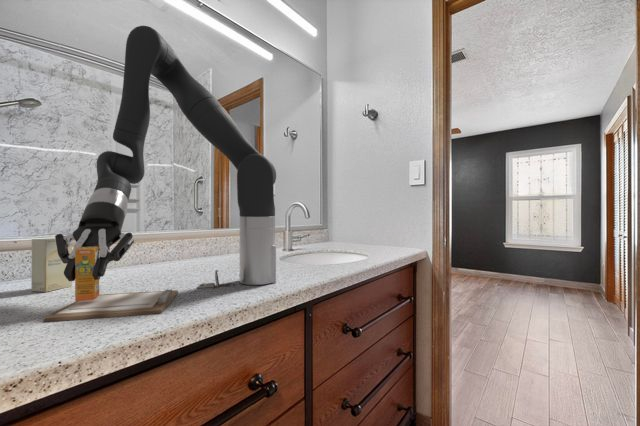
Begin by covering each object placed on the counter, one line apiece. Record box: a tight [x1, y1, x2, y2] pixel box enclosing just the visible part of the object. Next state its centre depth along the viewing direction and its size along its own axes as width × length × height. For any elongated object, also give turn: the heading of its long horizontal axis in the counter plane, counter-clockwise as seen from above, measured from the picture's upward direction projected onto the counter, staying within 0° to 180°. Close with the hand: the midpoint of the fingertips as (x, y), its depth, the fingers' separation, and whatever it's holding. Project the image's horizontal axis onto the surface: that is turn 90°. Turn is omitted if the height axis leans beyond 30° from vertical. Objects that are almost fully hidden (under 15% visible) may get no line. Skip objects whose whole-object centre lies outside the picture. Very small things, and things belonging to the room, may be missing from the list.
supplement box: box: [74, 246, 100, 302], centre depth 58 cm, size 3×3×10 cm
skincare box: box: [31, 237, 73, 293], centre depth 71 cm, size 6×4×12 cm
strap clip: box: [197, 269, 235, 290], centre depth 74 cm, size 8×3×4 cm, turn 107°
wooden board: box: [43, 289, 179, 323], centre depth 59 cm, size 18×14×2 cm
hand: (83, 277), depth 56 cm, fingers closed on supplement box, 3 cm apart
